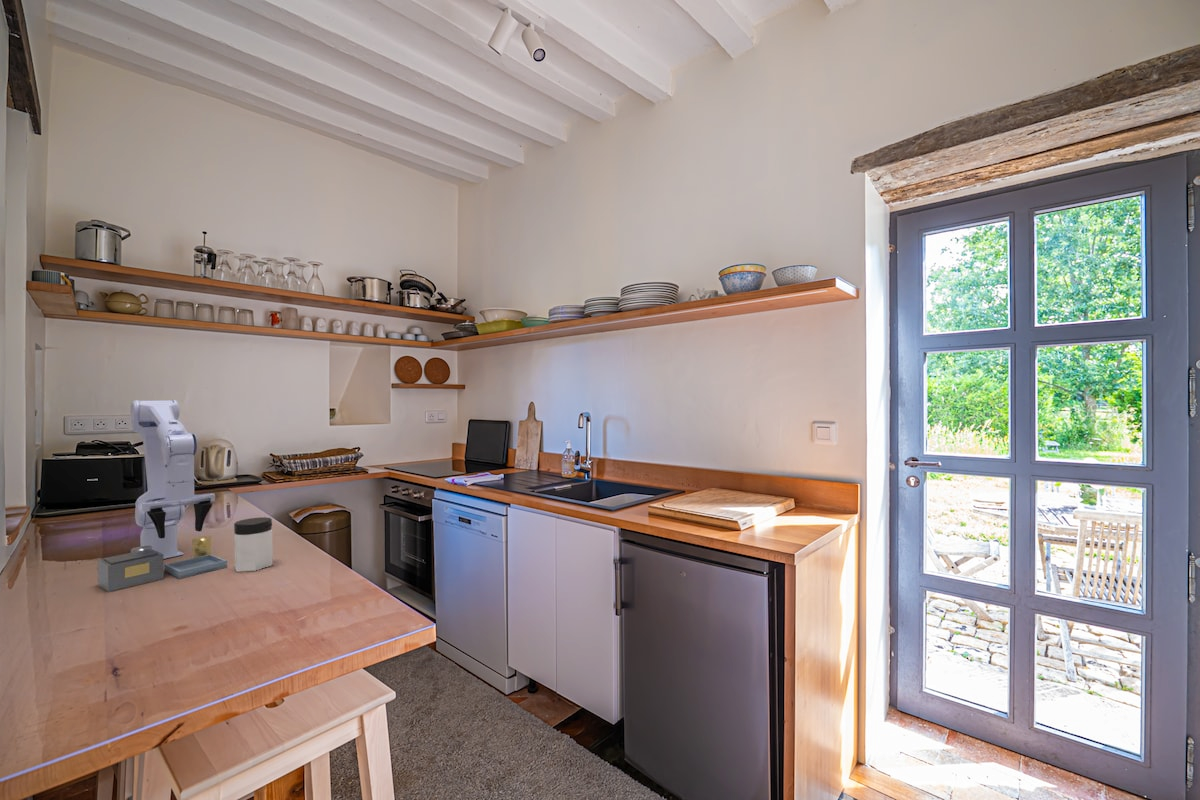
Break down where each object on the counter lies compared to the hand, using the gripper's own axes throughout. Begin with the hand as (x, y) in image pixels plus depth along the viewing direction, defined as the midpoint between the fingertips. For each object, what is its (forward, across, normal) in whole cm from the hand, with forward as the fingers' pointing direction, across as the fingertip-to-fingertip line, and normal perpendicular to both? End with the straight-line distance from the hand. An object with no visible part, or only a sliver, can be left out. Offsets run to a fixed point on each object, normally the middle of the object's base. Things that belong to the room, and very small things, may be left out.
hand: (180, 534), depth 130 cm
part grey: (+10, -6, +8) cm, 14 cm away
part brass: (+10, +6, +6) cm, 13 cm away
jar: (+10, +11, -13) cm, 20 cm away
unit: (+9, -10, 0) cm, 13 cm away
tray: (+9, +2, -2) cm, 10 cm away
